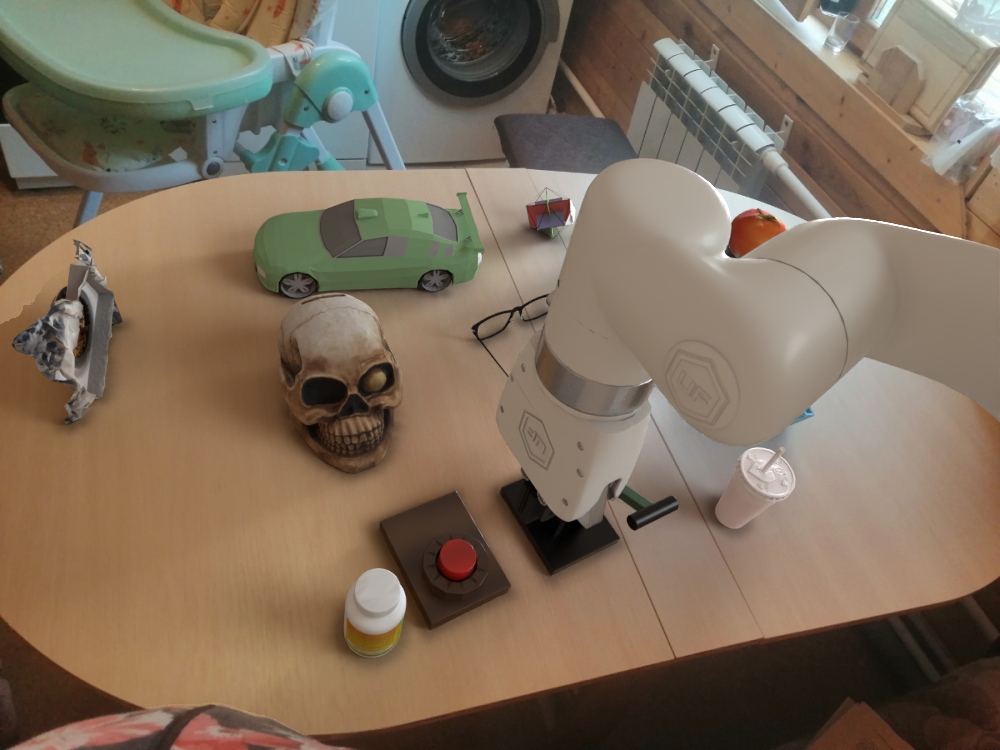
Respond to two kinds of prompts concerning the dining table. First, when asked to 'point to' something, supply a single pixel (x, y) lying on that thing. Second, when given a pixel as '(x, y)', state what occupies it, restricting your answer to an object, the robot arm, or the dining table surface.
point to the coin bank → (339, 379)
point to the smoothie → (755, 486)
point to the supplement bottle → (374, 613)
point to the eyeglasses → (512, 311)
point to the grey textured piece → (75, 335)
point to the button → (456, 559)
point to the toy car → (368, 247)
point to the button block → (418, 551)
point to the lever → (646, 508)
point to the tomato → (753, 230)
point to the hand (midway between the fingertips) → (535, 509)
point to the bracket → (560, 535)
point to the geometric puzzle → (551, 213)
